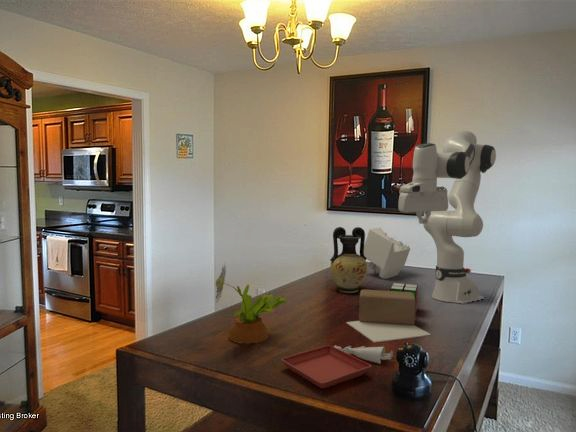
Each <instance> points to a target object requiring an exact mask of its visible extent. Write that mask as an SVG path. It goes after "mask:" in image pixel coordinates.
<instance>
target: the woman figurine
mask: <svg viewBox="0 0 576 432" xmlns="http://www.w3.org/2000/svg"><path fill="white" fill-rule="evenodd" d="M333 347H335V348H337V349H339V350H341V351H343V352H345V353H347V354H349V355H355V357H356V358H358V359H360V360H363V361H364V360H365V361H366V362H367V361H368V362H371V363H375V364H378V365H379V364H380V365H381V364H382V363H381V362H382V361H385V360H386V361H387V360H392V357H393V356H394V355H393V354H394V353H393V350H391V351H390V352H389V353H386V348H385V346H372V347H371V346H370V347H366V346H365V345H362V346H359V347H353V348H352V345H348V346H345V347H344V348H342V347H341V346H340V345H339V346H337V345H334V346H333Z"/></svg>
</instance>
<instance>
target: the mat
mask: <svg viewBox="0 0 576 432" xmlns="http://www.w3.org/2000/svg"><path fill="white" fill-rule="evenodd" d="M346 324H347V325H348V326H349V327H351V328H353V329H354V330H355V331H356V332H358V333H359V334H361V335H362V336H363V337H365V338H367V339H368V340H369V341H370V342H373V343H374V344H375V343H376V344H377V343H383V342H390V341H397V340H406V339H413V338H420V337H421V338H422V337H429V336H432V334H431V333H429V332H428V331H425V330H424V329H422V328H420V327H418V326H416V325H415V324H414V325H402V324H389V323H375V322H362V321H360V320H354V321H347V322H346Z"/></svg>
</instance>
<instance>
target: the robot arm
mask: <svg viewBox="0 0 576 432" xmlns="http://www.w3.org/2000/svg"><path fill="white" fill-rule="evenodd" d="M477 143H478V141H477V136H476V135H475V133H473V132H472V131H468V130H463V131H458V132H456V133H454V134H453V135H451V136H449V137H448V138H447V139H445V141H444V143H443V146H442V152H438V150H437V145H436V144H435V143H433V142H432V143H431V142H430V143H427V142H426V143H425V142H424V143H420V144H417V145H416V146H415V147H414V149H413V150H414V151H413V156H412V157H413V158H412V170H413V175H412V181H411V182H409V183H407V184H404V185H402V186H400V187H399V188H400V189H399V190H400V192H401V193H400V194H399V196H398V197H399V198H398V204H397V205H398V206H397V207H398V211H399V212H400V213H405V214H406V213H415V214H416V217H417V218H418V224H419V225H420V224H421V225H423V228H424V229H425V232H427V233H428V234H429V235H430V236H431V237H432V239H433V240H434V244H435V247H436V257H437V258H436V265H435V271H434V272H435V283H434V286H433V291H432V294H431V298H432V299H434V300H437V301H440V302H445V303H446V302H447V303H454V304H455V303H456V304H460V303H461V305H462V304H463V305H464V304H469V303H473V302H472V301H474V302H478V301H477V300H479V301H482V300H481V299H484V300H485V297H484V296H483V295H481V294H479V288H478V285H477V283H476V282H475V281H473V280H472V279H471V278H470V277H468V276H467V274H471V272H472V270H471V268H467V267H466V268H465V267H464V259H465V252H464V249H463V248H462V246H460V245H459V244H457V243H456V242H455V241H454V239H453V237H459V238H460V237H461V238H474V237H478V236H479V235H480V234H481V233H482V231H483V228H484V221H483V219H482V217H481V215H480V214H478V213H477V212H476V209H475V202H476V198H477V195H478V192H479V190H480V186H481V179H482V174H486V172H487V171H488V170H490V169H491V168H492V167H493V166H494V164H495V163H496V160H497V151H496V148H495V147H494V146H493V145H490V144H477ZM438 178H440V179H446V178H447V179H454V182H453V185H452V187H451V189H450V191H449V194H448V189H447V188H446V187H445V186H437V184H438ZM449 205H450V206H451V207H452V208H453V209H454V210H448V209H449ZM423 214H425V215H424V216H423ZM468 302H469V303H468Z"/></svg>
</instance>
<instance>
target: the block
mask: <svg viewBox="0 0 576 432" xmlns="http://www.w3.org/2000/svg"><path fill="white" fill-rule="evenodd" d="M358 301H359V302H358V303H359V305H358V307H359V308H358V321H362V322H375V323H389V324H402V325H415V323H416V315H415V309H416V300H415V297H414V294H413V293H411V292H395V291H390V290H380V289H379V290H375V289H361V290H360V291H359V299H358Z"/></svg>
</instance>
